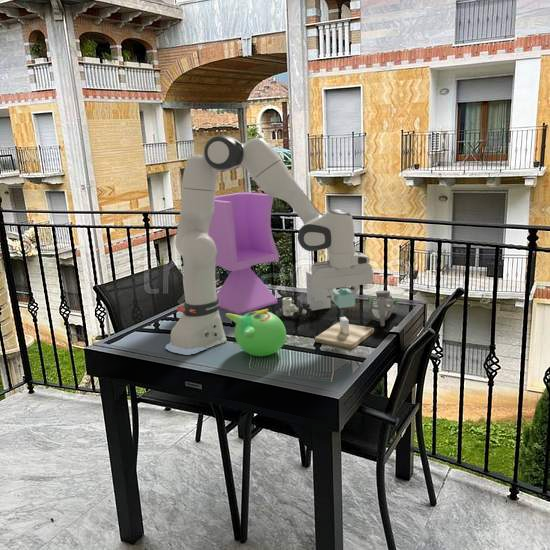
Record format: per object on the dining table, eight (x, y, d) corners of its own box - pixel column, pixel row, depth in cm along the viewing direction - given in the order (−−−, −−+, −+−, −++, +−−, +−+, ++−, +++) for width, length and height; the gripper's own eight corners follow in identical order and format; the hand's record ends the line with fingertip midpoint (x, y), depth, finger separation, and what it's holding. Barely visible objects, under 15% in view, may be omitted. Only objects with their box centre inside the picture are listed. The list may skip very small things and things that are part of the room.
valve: (278, 316, 208) (299, 322, 199) (277, 299, 206) (298, 305, 197) (290, 311, 212) (312, 317, 203) (289, 295, 210) (311, 301, 202)
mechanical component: (370, 322, 194) (369, 296, 191) (398, 325, 189) (397, 298, 186) (367, 325, 191) (366, 298, 189) (395, 328, 186) (394, 301, 183)
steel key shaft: (349, 334, 180) (348, 320, 179) (343, 335, 180) (342, 321, 179) (345, 330, 184) (345, 316, 183) (340, 331, 184) (339, 317, 182)
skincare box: (312, 311, 210) (309, 274, 206) (307, 306, 216) (304, 271, 212) (332, 307, 212) (330, 271, 208) (326, 303, 218) (324, 268, 214)
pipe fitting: (389, 322, 191) (388, 294, 190) (368, 321, 196) (367, 293, 194) (402, 315, 201) (401, 288, 199) (382, 314, 205) (381, 288, 204)
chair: (236, 317, 210) (225, 202, 198) (208, 304, 228) (196, 199, 216) (282, 303, 223) (274, 194, 211) (251, 292, 240) (242, 191, 228)
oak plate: (352, 349, 172) (352, 344, 172) (315, 341, 180) (314, 337, 180) (374, 332, 185) (373, 328, 184) (338, 326, 193) (338, 322, 192)
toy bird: (297, 355, 171) (294, 311, 167) (249, 370, 163) (245, 324, 159) (269, 338, 186) (266, 298, 182) (225, 351, 178) (220, 309, 174)
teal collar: (355, 306, 176) (354, 293, 175) (339, 308, 176) (338, 295, 174) (348, 299, 183) (348, 287, 182) (333, 301, 183) (332, 289, 181)
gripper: (313, 265, 171) (315, 306, 175) (374, 257, 174) (375, 298, 177) (308, 260, 177) (311, 300, 181) (368, 253, 180) (369, 292, 183)
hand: (343, 299), depth 179 cm, fingers closed on teal collar, 5 cm apart
